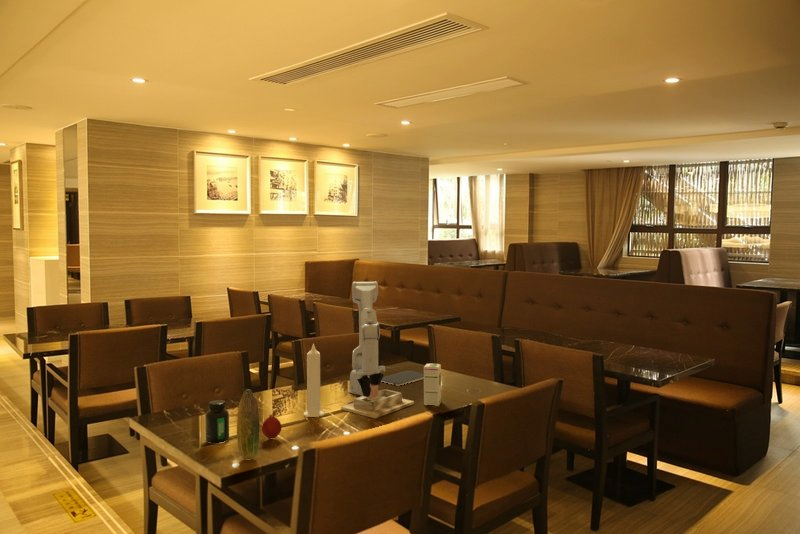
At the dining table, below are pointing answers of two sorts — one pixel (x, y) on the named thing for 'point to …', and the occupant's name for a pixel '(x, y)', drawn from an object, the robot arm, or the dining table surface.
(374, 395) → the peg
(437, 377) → the syrup box
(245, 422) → the vegetable
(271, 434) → the onion
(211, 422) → the supplement bottle
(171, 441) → the dining table surface
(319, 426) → the dining table surface
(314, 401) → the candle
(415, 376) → the notebook
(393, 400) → the holder
